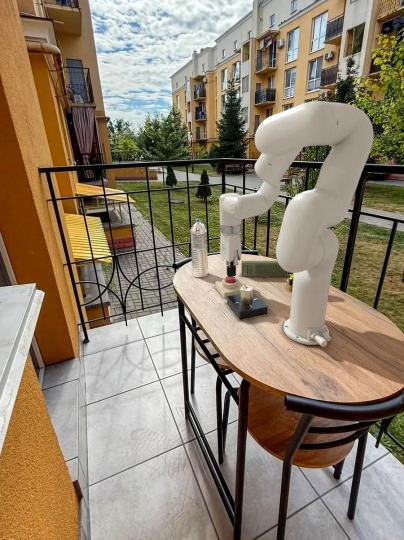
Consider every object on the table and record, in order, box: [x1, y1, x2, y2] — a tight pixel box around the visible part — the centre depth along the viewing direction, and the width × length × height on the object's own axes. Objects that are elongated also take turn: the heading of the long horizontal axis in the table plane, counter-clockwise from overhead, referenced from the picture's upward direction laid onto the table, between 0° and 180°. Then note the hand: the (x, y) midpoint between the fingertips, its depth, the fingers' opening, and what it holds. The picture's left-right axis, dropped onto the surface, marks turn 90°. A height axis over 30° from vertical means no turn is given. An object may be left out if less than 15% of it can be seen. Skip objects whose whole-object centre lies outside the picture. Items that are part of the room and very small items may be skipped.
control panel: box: [226, 291, 269, 321], centre depth 95 cm, size 11×10×3 cm
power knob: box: [241, 284, 254, 304], centre depth 94 cm, size 4×4×5 cm
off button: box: [225, 275, 236, 283], centre depth 107 cm, size 4×4×2 cm
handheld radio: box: [240, 260, 293, 278], centre depth 119 cm, size 7×3×25 cm
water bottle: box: [189, 218, 209, 278], centre depth 119 cm, size 7×7×25 cm
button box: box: [214, 277, 244, 299], centre depth 108 cm, size 10×9×4 cm
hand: (231, 275), depth 106 cm, fingers closed
